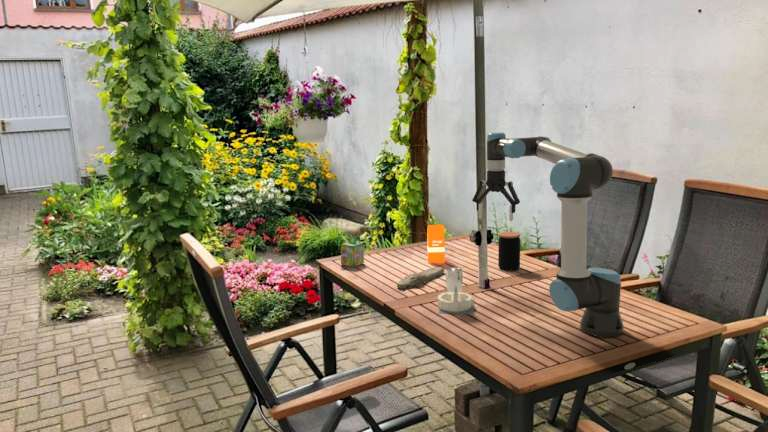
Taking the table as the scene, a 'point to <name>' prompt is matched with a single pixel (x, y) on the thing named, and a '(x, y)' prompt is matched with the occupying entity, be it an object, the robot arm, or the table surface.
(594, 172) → the robot arm
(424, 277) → the elongated rock
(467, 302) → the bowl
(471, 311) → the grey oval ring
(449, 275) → the beer glass
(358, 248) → the green glass canister
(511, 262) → the coffee jar
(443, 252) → the orange juice
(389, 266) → the table surface
